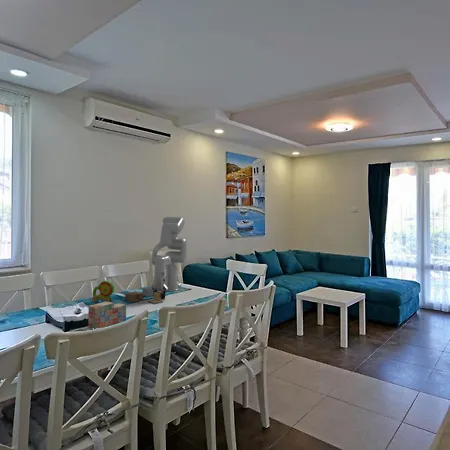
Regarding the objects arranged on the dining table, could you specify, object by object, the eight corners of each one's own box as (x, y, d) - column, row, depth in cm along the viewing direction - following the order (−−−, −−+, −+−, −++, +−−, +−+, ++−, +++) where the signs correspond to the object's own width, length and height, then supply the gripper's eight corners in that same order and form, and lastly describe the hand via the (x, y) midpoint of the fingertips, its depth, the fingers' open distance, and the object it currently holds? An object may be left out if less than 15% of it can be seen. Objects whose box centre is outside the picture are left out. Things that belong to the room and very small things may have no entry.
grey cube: (148, 294, 278) (148, 287, 278) (152, 295, 275) (152, 288, 275) (142, 295, 274) (142, 288, 274) (147, 296, 271) (147, 289, 270)
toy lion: (91, 301, 252) (91, 280, 251) (95, 300, 257) (96, 279, 256) (110, 304, 247) (111, 282, 247) (115, 302, 253) (115, 280, 252)
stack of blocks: (119, 318, 216) (119, 298, 215) (126, 320, 212) (126, 299, 212) (88, 327, 198) (88, 305, 198) (95, 329, 195) (95, 307, 194)
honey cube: (159, 298, 267) (159, 290, 267) (164, 299, 263) (164, 292, 263) (153, 299, 263) (154, 292, 262) (158, 300, 259) (158, 293, 259)
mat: (156, 300, 261) (156, 299, 261) (163, 302, 255) (163, 301, 255) (147, 302, 254) (147, 301, 254) (154, 304, 249) (154, 303, 249)
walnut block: (135, 298, 265) (135, 291, 265) (143, 300, 260) (143, 293, 259) (125, 300, 258) (125, 293, 258) (132, 302, 253) (132, 295, 253)
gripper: (171, 274, 259) (171, 298, 260) (156, 271, 271) (155, 295, 271) (163, 276, 254) (163, 300, 254) (148, 273, 265) (147, 296, 265)
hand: (159, 297), depth 263 cm, fingers open, 8 cm apart
